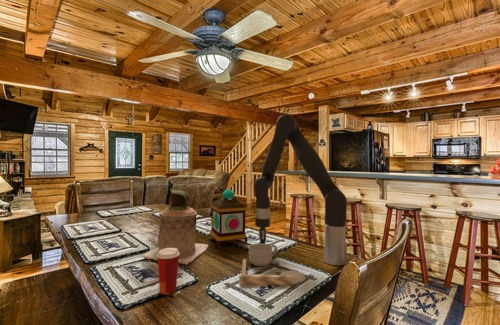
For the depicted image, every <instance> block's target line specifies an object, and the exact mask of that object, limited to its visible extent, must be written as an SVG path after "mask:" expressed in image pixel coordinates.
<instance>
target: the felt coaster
mask: <svg viewBox="0 0 500 325" xmlns="http://www.w3.org/2000/svg"><path fill="white" fill-rule="evenodd" d="M279 275H292V276H293V284H297V283H298V284H299V282H300V283H303V282H304V281H306V275H305V274H303V273H302V272H299V271H296V270H285V271H282V272H281V273H280V274H279ZM302 281H303V282H302Z"/></svg>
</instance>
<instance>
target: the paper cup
mask: <svg viewBox="0 0 500 325" xmlns="http://www.w3.org/2000/svg"><path fill="white" fill-rule="evenodd" d="M179 254H180V253H179V251H178V249H176V248H165V249H161V250H160V251H159V252H158V254H157V255H156V256H157V257H158V260H157V267H158V268H157V270H158V286H159V287H158V288H159V294H161V295H164V296H165V295H166V296H167V295H171V294H173V293H175V292H176V291H177V286H178V285H177V283H178V270H179V263H178V259H179Z"/></svg>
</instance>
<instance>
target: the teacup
mask: <svg viewBox="0 0 500 325" xmlns="http://www.w3.org/2000/svg"><path fill="white" fill-rule="evenodd" d="M247 247H248V259H249V262H250V263H251V264H252V265H253V266H255V267H266V266H268V265H269V264H270V263H271V262H272V259H273V256H274V255H275V254H276V253H277V252H278V247H277V245H275V244H268V243H265V244H263V243H260V242H259V243H253V244H250V245H248V246H247ZM273 248H274V249H273Z"/></svg>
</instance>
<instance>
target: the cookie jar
mask: <svg viewBox="0 0 500 325" xmlns="http://www.w3.org/2000/svg"><path fill="white" fill-rule="evenodd" d="M169 196H170V197H169V201H170V206H168V207H167V208H165V210H162V211H159V217H160V224H159V228H158V229H159V230H158V236H157V243H158V244H157V245H158V247H156V248H154V249H151V250H149V251H147V252H145V253H142V255H141V257H142V258H143V259H144V258H146V259H145V260H151V259H153V260H152V261H158V257H157V256H156V255H157V254H158V252H159V251H160V250H161V249H165V248H176V249H178V251H179V253H180V254H179V259H178V264H182V265H189V263H193V262H194V261H195V259H197V258H198V257H199V256H200V255H202V254H203V253H204V252H205V251H207V250H208V249H209V244H207V243H197V242H196V241H197V236H198V231H197V221H198V219H197V215H198V213H197V211H196V210H195V209H194V208H193V207H190V206H189V203H188V202H190V201H191V200H192V198H191V195H190V194H189V193H187V192H186V191H185V190H183V189H182V190H180V189H177V190H174V189H172V188H170V194H169Z"/></svg>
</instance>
